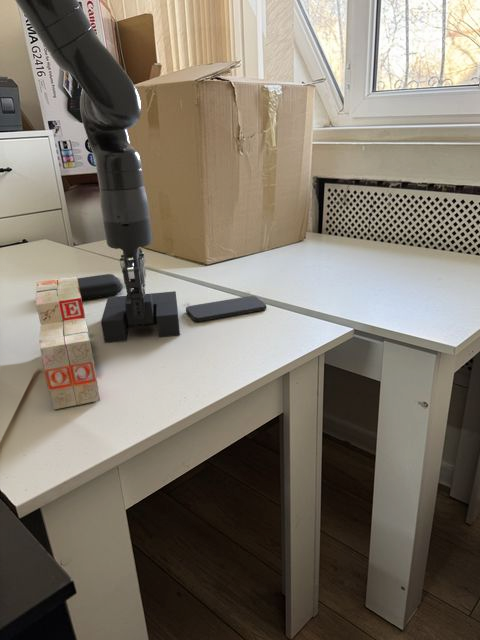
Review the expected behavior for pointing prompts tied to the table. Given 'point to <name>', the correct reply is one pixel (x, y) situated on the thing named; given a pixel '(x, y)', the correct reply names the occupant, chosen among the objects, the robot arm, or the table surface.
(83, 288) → the carrying case
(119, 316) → the notched block
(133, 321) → the square block
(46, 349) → the stack of blocks
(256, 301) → the phone
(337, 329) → the table surface
